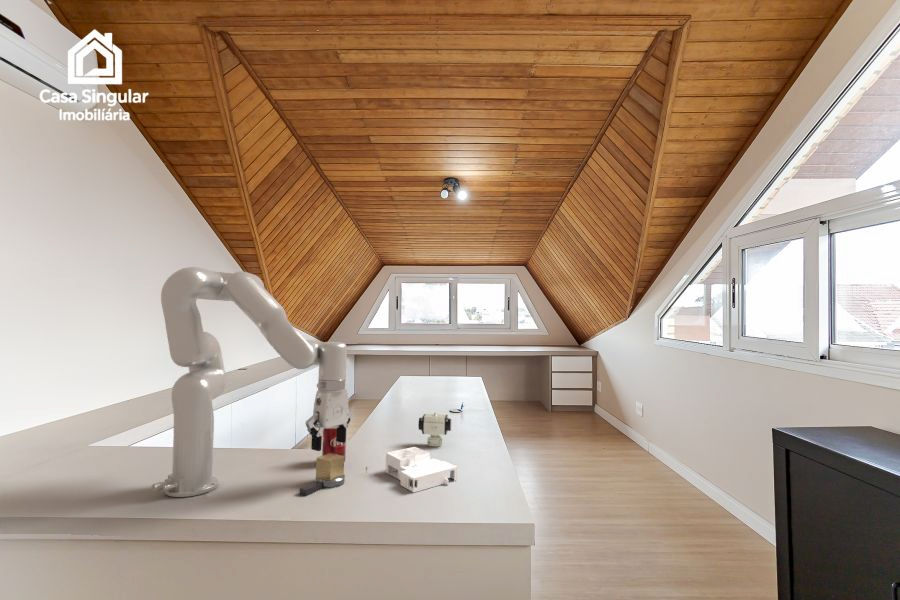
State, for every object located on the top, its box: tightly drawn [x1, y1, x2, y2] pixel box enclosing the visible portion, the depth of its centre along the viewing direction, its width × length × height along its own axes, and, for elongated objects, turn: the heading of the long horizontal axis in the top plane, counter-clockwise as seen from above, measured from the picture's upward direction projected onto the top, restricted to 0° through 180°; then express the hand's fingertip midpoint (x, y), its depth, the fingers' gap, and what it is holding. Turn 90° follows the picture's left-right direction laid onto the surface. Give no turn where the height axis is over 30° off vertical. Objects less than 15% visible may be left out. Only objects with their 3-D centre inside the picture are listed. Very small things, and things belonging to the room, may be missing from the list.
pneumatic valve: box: [418, 412, 452, 448], centre depth 162 cm, size 6×12×12 cm, turn 85°
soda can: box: [321, 426, 347, 463], centre depth 142 cm, size 7×7×12 cm
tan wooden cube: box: [315, 453, 345, 481], centre depth 125 cm, size 5×5×6 cm
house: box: [365, 446, 458, 493], centre depth 130 cm, size 22×18×6 cm
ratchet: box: [299, 474, 346, 497], centre depth 123 cm, size 14×8×5 cm, turn 151°
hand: (329, 445), depth 125 cm, fingers open, 9 cm apart
